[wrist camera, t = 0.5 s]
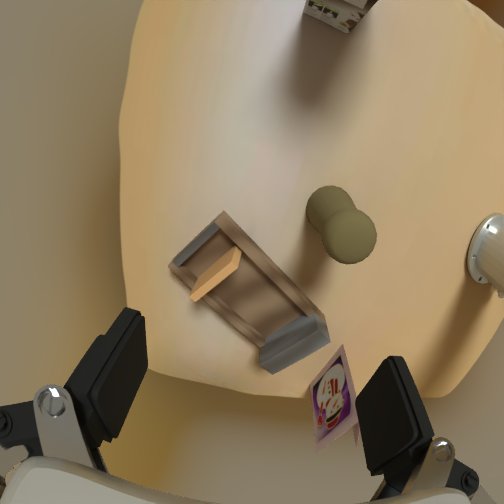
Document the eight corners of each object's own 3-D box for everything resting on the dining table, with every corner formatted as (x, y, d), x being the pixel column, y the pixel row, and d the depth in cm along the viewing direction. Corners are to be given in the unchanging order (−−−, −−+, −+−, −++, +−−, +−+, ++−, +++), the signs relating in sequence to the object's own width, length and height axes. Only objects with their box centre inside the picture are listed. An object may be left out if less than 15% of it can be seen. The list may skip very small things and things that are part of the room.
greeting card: (338, 342, 41) (356, 418, 28) (372, 351, 42) (395, 421, 28) (305, 383, 46) (311, 452, 32) (338, 389, 47) (349, 454, 33)
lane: (324, 314, 39) (330, 341, 34) (273, 347, 42) (272, 374, 37) (223, 210, 34) (214, 226, 28) (173, 258, 37) (158, 279, 31)
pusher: (242, 249, 34) (237, 267, 30) (203, 281, 36) (195, 302, 32) (236, 243, 34) (231, 261, 29) (198, 276, 36) (188, 296, 32)
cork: (320, 240, 34) (338, 285, 24) (297, 200, 32) (308, 232, 22) (360, 218, 33) (394, 254, 23) (339, 176, 31) (370, 197, 21)
